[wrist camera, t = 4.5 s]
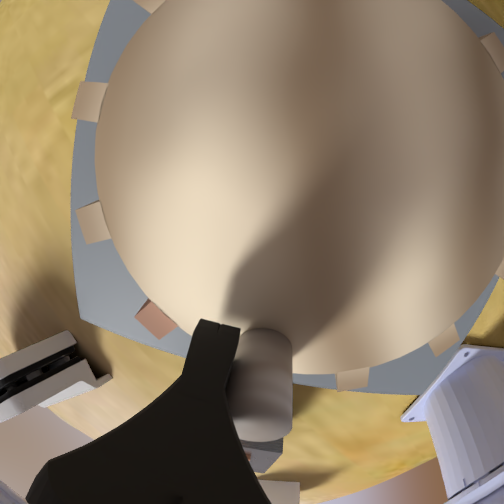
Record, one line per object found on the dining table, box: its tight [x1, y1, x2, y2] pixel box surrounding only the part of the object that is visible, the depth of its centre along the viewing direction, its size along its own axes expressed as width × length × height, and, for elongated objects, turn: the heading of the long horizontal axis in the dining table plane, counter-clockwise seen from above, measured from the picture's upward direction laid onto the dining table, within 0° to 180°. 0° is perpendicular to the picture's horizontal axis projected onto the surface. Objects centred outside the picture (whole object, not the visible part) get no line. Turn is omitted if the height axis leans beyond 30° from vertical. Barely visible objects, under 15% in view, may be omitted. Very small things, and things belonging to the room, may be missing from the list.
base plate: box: [71, 0, 504, 395], centre depth 10 cm, size 21×21×2 cm
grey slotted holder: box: [0, 330, 112, 423], centre depth 15 cm, size 17×5×10 cm, turn 126°
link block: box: [240, 437, 283, 473], centre depth 15 cm, size 5×4×4 cm
